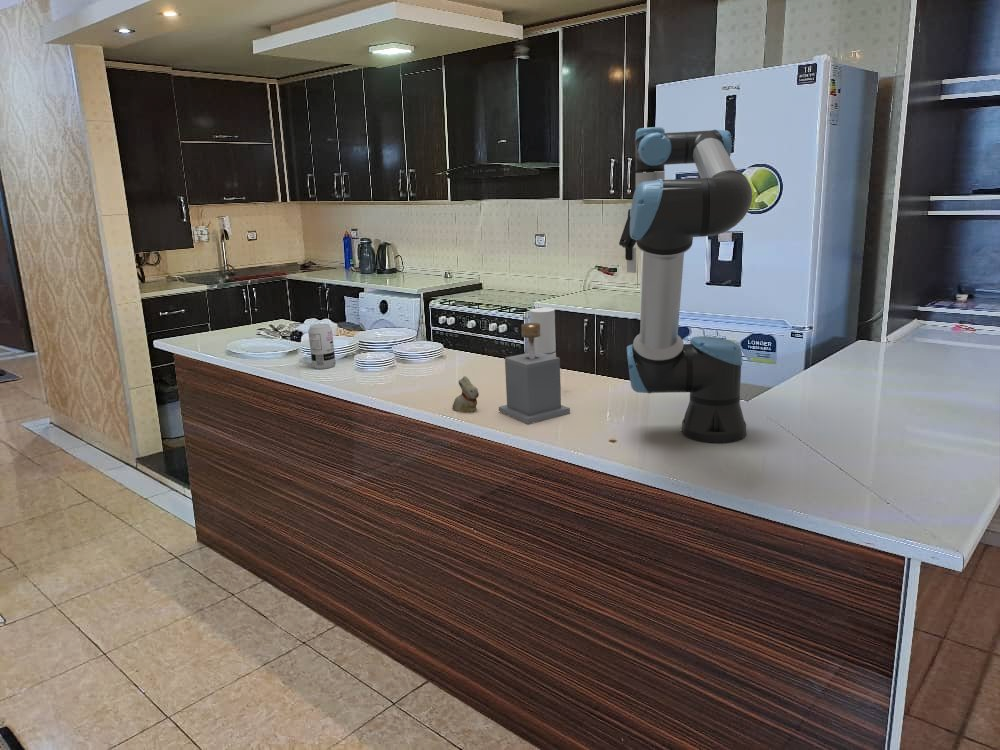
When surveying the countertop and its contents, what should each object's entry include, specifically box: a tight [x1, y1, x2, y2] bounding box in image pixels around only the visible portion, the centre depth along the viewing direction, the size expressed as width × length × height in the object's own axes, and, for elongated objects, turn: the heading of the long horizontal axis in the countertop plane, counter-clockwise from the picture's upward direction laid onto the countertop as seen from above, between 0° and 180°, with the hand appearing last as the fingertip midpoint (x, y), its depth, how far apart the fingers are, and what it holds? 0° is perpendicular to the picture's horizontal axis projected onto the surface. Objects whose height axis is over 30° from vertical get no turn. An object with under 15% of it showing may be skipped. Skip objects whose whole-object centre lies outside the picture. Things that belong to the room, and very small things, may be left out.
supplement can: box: [307, 323, 336, 370], centre depth 263 cm, size 8×8×15 cm
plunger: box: [521, 322, 541, 360], centre depth 198 cm, size 8×8×20 cm
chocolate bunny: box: [452, 375, 480, 413], centre depth 206 cm, size 6×8×10 cm
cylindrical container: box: [529, 307, 557, 357], centre depth 217 cm, size 7×7×25 cm
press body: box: [498, 351, 571, 425], centre depth 200 cm, size 14×14×16 cm
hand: (649, 269), depth 200 cm, fingers open, 13 cm apart
